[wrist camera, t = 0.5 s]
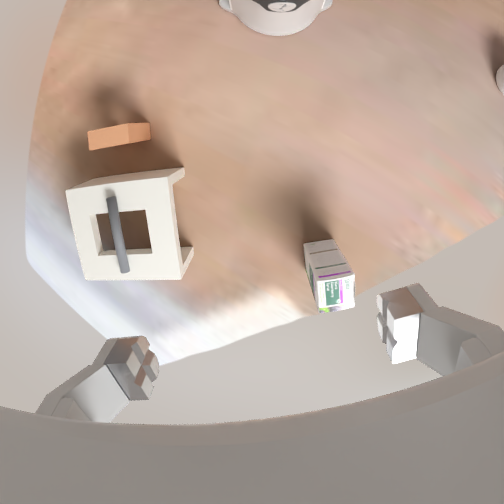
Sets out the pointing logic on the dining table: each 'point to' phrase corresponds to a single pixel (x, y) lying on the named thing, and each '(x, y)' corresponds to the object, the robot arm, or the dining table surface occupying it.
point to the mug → (500, 79)
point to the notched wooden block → (118, 135)
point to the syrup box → (329, 276)
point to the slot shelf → (130, 200)
